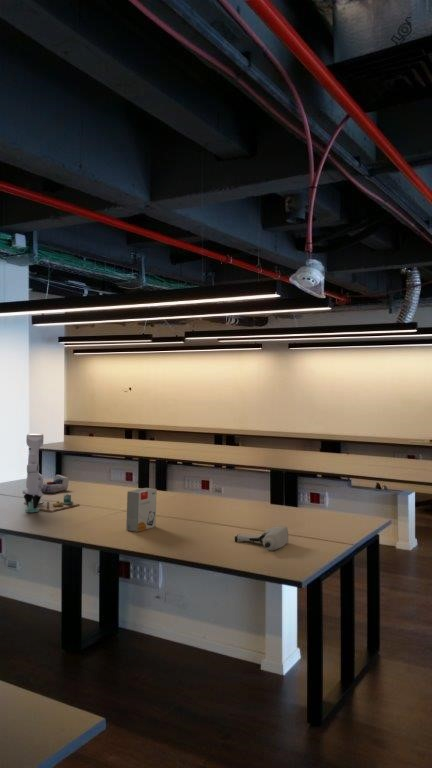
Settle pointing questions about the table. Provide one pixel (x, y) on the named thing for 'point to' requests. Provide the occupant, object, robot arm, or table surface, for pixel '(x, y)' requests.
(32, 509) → the gear
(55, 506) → the gear carrier
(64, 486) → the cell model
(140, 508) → the hard drive box
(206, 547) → the table surface
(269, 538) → the impact wrench
